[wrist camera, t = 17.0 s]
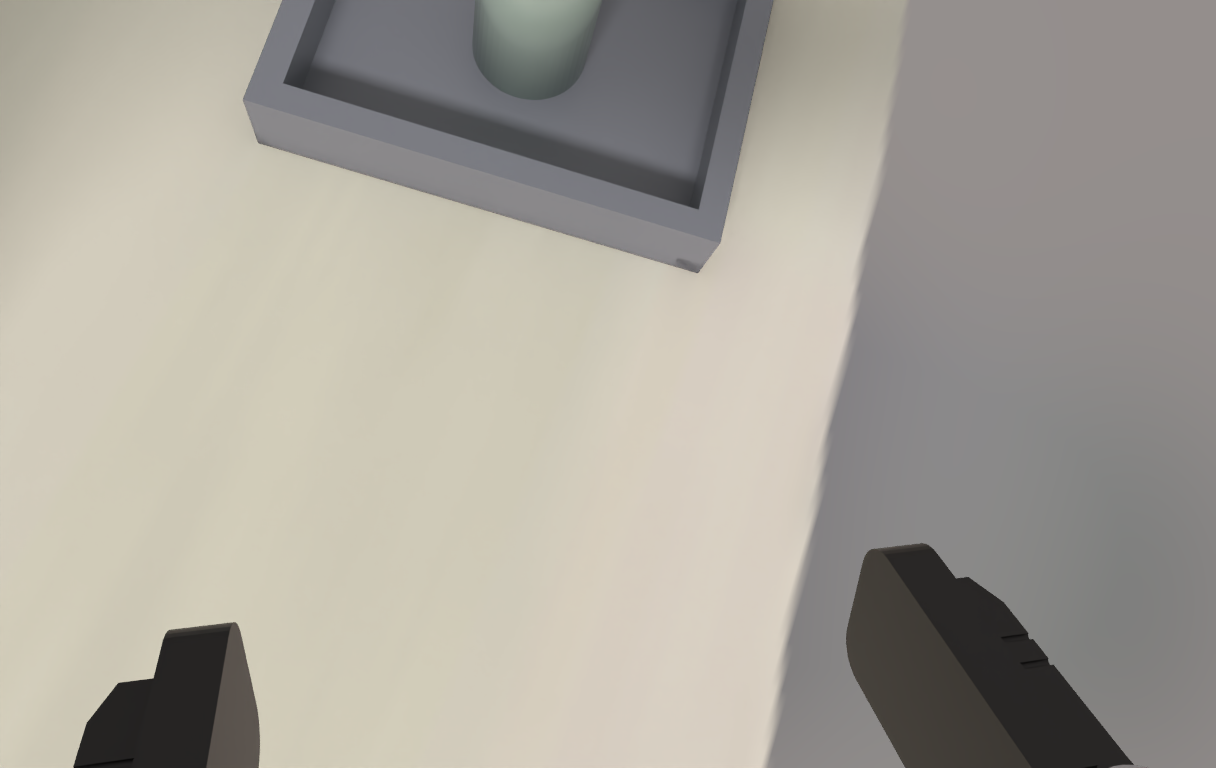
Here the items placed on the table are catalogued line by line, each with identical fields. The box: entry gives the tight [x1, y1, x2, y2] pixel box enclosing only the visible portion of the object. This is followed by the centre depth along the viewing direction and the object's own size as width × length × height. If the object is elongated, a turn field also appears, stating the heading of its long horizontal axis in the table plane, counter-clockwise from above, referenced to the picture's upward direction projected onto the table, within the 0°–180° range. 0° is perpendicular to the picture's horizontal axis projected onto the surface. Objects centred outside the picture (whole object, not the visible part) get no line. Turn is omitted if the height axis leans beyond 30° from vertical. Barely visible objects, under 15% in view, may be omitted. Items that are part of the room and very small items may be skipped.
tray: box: [243, 0, 773, 273], centre depth 42 cm, size 20×16×4 cm
